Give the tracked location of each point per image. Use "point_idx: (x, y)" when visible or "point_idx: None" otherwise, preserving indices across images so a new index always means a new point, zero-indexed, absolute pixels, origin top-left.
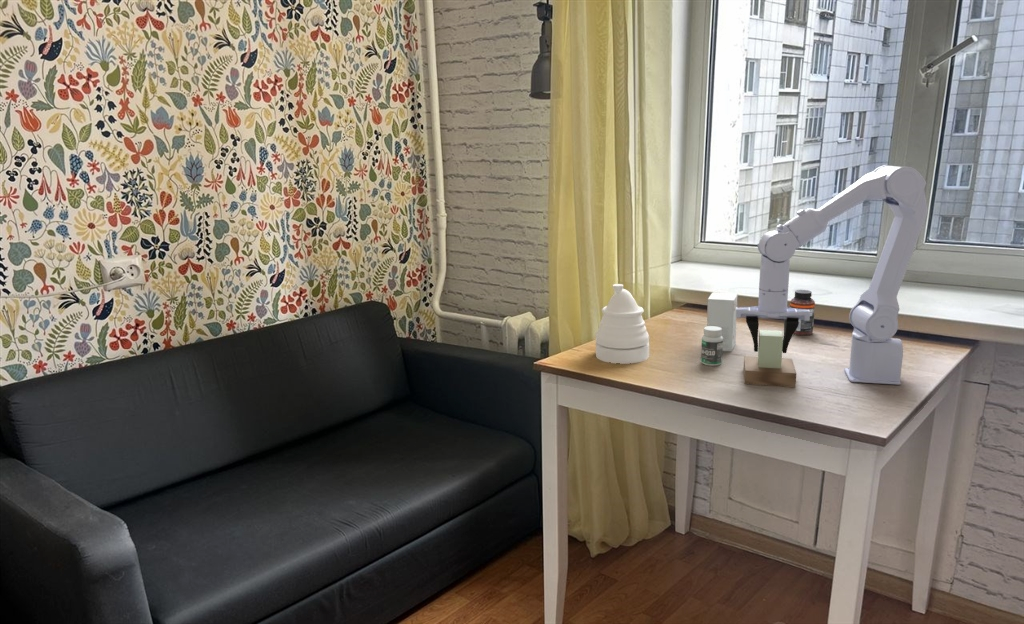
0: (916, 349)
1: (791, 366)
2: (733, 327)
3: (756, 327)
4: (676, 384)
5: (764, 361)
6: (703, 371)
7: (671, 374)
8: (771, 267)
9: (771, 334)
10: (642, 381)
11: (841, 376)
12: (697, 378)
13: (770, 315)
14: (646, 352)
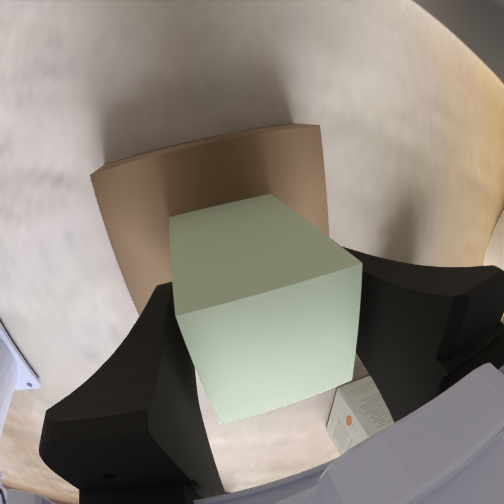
0: (30, 481)
1: (132, 267)
2: (363, 438)
3: (433, 287)
4: (450, 79)
5: (254, 208)
6: (410, 208)
7: (464, 155)
8: None
9: (279, 331)
10: (493, 93)
11: (25, 339)
12: (421, 138)
13: (498, 384)
14: (500, 250)
